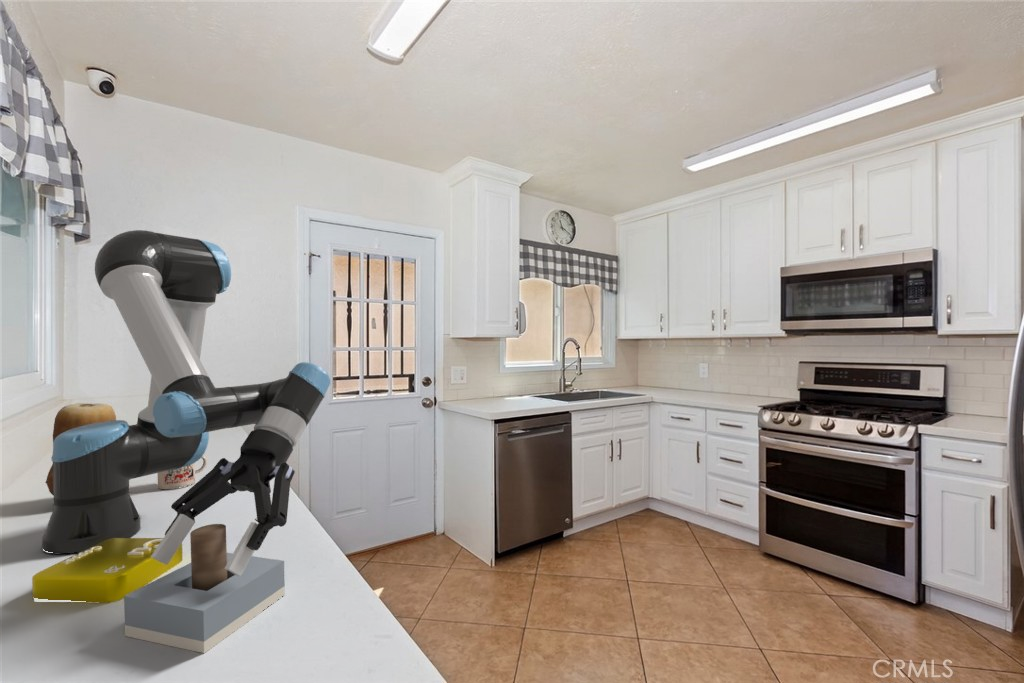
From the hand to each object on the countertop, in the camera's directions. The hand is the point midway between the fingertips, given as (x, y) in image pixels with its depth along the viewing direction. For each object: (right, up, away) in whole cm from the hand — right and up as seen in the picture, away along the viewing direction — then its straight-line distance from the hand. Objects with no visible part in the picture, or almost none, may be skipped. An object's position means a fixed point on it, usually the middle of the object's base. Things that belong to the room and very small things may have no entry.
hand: (194, 566), depth 67 cm
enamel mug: (-48, -9, +66) cm, 83 cm away
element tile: (-23, -9, +13) cm, 28 cm away
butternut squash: (-65, -9, +53) cm, 84 cm away
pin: (+1, -7, +2) cm, 7 cm away
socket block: (+1, -8, +2) cm, 8 cm away
